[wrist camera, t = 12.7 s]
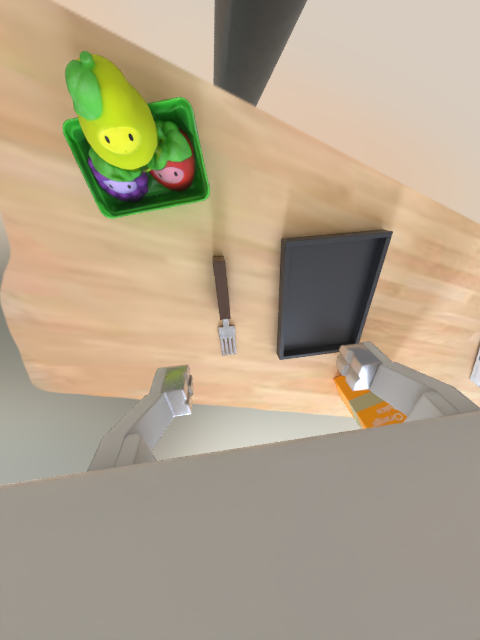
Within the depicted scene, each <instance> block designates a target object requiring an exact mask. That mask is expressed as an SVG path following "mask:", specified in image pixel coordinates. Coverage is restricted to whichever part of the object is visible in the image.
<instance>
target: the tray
mask: <svg viewBox="0 0 480 640" xmlns="http://www.w3.org/2000/svg"><path fill="white" fill-rule="evenodd" d="M392 233H393V232H392V231H387V230H374V231H363V232H352V233H341V234H330V235H319V236H308V237H297V238H286V239H282V240H281V264H280V289H279V313H278V337H277V355H278V357H279V359H280V360H283V359H290V358H298V357H305V356H313V355H320V354H328V353H335V352H339V349H340V347H341V346H342V345H348V344H355V343H359V340H360V337H361V334H362V331H363V327H364V324H365V321H366V318H367V315H368V311H369V308H370V305H371V302H372V298H373V295H374V292H375V289H376V285H377V282H378V279H379V276H380V272H381V269H382V266H383V263H384V259H385V256H386V253H387V250H388V246H389V243H390V240H391V236H392Z"/></svg>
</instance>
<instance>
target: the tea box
mask: <svg viewBox="0 0 480 640" xmlns="http://www.w3.org/2000/svg"><path fill="white" fill-rule="evenodd" d="M470 380H471V381H472V382H473V383H475V384H476V385H477V386H479V387H480V348H479V352H478V355H477V358H476V362H475V365H474V368H473V371H472V374H471V376H470Z"/></svg>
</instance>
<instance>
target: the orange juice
mask: <svg viewBox="0 0 480 640" xmlns="http://www.w3.org/2000/svg"><path fill="white" fill-rule="evenodd" d="M334 381H335V384H336V386H337V389H338V391H339V394H340V396H341V399H342V400H343V402H344V403H345V405H346V407H347V408H348V410H349V411H350V413H351V414H352V416H353V417H354V419H355V420H356V422H357V424H358V425H359V427H360V428H361V429H365V428H371V427H378V426H384V425H391V424H397V423H403V422H404V421H405V419H406V418H407V416H406V415H405V414H403V413H402V412H400V411H399V410H397V409H396V408H394V407H393V406H392V405H390V404H389V403H387V402H386V401H384V400H383V399H381V398H380V397H378V396H377V395H375V394H374V393H372V392H371V391H369V389H365V390H356V391H353V390H352V389H351V388H350V386H349V385H348V383H347V382H346V377H345V376H343V375H341V376H338V377H336V378H334Z"/></svg>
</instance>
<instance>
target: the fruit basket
mask: <svg viewBox="0 0 480 640" xmlns="http://www.w3.org/2000/svg"><path fill="white" fill-rule="evenodd" d="M65 78H66V84H67V87H68V90H69V93H70V95H71V97H72V99H73V105H74V109H75V111H76V113H77V115H78V118H73V119H68V120H66V121H65V122H64V123H63V133H64V136H65V138H66V140H67V143H68V144H69V146H70V148H71V151H72V153H73V155H74V157H75V160H76V162H77V164H78V166H79V168H80V170H81V172H82V174H83V176H84V178H85V181H86V183H87V185H88V187H89V189H90V191H91V193H92V195H93V197H94V200H95V202H96V204H97V206H98V208H99V210H100V211H101V213H102V214H103V215H104V216H105V217H107V218H111V219H114V218H119V217H123V216H128V215H133V214H137V213H142V212H148V211H153V210H158V209H164V208H169V207H173V206H178V205H184V204H189V203H194V202H200V201H204V200H206V199H207V198H208V197H209V194H210V187H209V183H208V178H207V174H206V170H205V165H204V161H203V156H202V151H201V147H200V142H199V137H198V132H197V127H196V122H195V117H194V112H193V108H192V106H191V104H190V102H189V101H188V100H187V99H185V98H183V97H177V98H172V99H168V100H163V101H158V102H153V103H148V104H147V103H146V102H145V101H144V99H143V98H142V96H141V95H140V94H139V93H138V92H137V90H136V89H135V88H134V87H133V86H132V85H130V84H129V83H128V82H127V80H126V79H125V77H124V75H123V74H122V73H121V71H120V70H119V69H118V68H117V67H116V66H115V65H114V64H113V63H112V62H110V61H109V60H108V59H106V58H104V57H102V56H99V55H95V54H90V53H89V52H87V51H83V52H81V54H80V58H79V59H77V60H73V61H71V62H69V63H68V65H67V67H66V71H65Z"/></svg>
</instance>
